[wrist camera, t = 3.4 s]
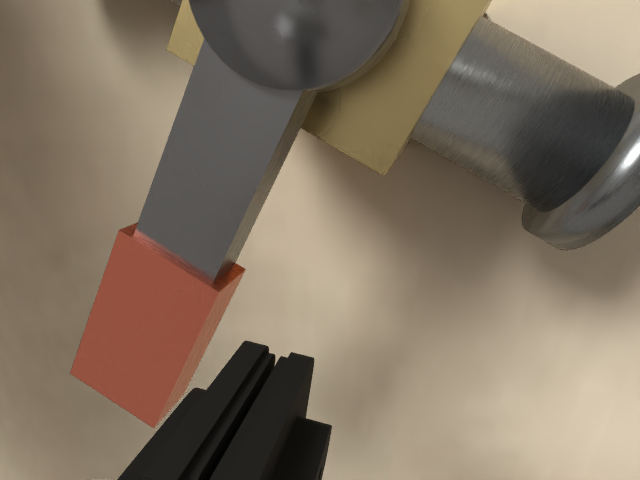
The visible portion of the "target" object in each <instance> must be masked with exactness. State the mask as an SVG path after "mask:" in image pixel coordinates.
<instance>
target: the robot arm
mask: <svg viewBox="0 0 640 480" xmlns="http://www.w3.org/2000/svg"><path fill="white" fill-rule="evenodd" d="M274 366H275V367H274ZM313 367H314V358H312V357H308V356H304V355H300V354H297V353H293V352H291V353H290V355H289V356H288V358H286V357H283V356H281V357H280V358H279V360H278V362H277V363H276V365H275V354H271V353H269V347H268V346H265V345H261V344H257V343H253V342H250V341H244V342H243V343H242V345H241V346H240V347H239V349H238V350H237V351H236V352H235V354H234V355H233V356H232V358H231V359H230V360H229V361H228V363H227V364H226V365H225V367H224V368H223V369H222V371H221V372H220V373H219V374H218V376H217V377H216V378H215V380H214V381H213V382H212V384H211V385H210V386H209V387H208V389H207V390H203V389H200V388H194V389H193V390H192V391H190V392H189V393H188V395H187V396H186V397H185V398H184V399H183V401H182V402H181V403H180V404H179V406H178V407H177V408H176V409H175V410H174V412H173V413H172V414H171V415H170V416H169V418H168V419H167V420H166V421H165V422H164V424H163V425H162V426H161V427H160V429H159V430H158V431H157V432H156V433H155V435H154V436H153V437H152V438H151V439H150V441H149V442H148V443H147V444H146V445H145V447H144V448H143V449H142V450H141V452H140V453H139V454H138V455H137V456H136V458H135V459H134V460H133V461H132V462H131V464H130V465H129V466H128V467H127V468H126V470H125V471H124V472H123V473H122V475H121V476H120V477H119V478H118V479H117V480H321V479H322V475H323V471H324V466H325V462H326V457H327V452H328V446H329V441H330V435H331V429H332V426H331V425H328V424H324V423H321V422H317V421H314V420H310V419H306V412H307V406H308V399H309V393H310V387H311V380H312V374H313ZM89 480H113V479H110V478H93V479H89Z"/></svg>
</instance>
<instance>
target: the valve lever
mask: <svg viewBox="0 0 640 480" xmlns="http://www.w3.org/2000/svg"><path fill="white" fill-rule="evenodd" d="M409 1H410V0H189V3H190V7H191V11H192V13H193V16H194V18H195V21H196V23H197V26H198V27H199V29H200V31H201V33H202V35H203V37H204V40H203V43H202V46H201V49H200V51H199V54H198V57H197V60H196V63H195V65H194V68H193V71H192V74H191V77H190V79H189V82H188V85H187V88H186V90H185V93H184V96H183V99H182V102H181V104H180V107H179V110H178V113H177V116H176V118H175V121H174V124H173V127H172V129H171V132H170V135H169V138H168V141H167V143H166V146H165V149H164V152H163V155H162V157H161V160H160V163H159V166H158V168H157V171H156V174H155V177H154V180H153V182H152V185H151V188H150V191H149V194H148V196H147V199H146V202H145V205H144V207H143V210H142V213H141V216H140V219H139V221H138V223H136V224H133V225H130V226H128V227H125V228H123V229H120V230H119V231H118V234H117V237H116V240H115V243H114V246H113V249H112V252H111V255H110V258H109V261H108V264H107V267H106V269H105V272H104V275H103V278H102V281H101V284H100V287H99V290H98V293H97V296H96V299H95V302H94V305H93V308H92V310H91V313H90V316H89V319H88V322H87V325H86V328H85V331H84V334H83V337H82V340H81V343H80V346H79V349H78V352H77V354H76V357H75V360H74V363H73V366H72V369H71V372H70V374H72V375H73V376H75V377H76V378H78V379H80V380H81V381H83V382H84V383H86V384H87V385H89V386H90V387H92V388H93V389H95V390H96V391H98V392H99V393H101V394H102V395H104V396H105V397H107V398H108V399H110V400H112V401H113V402H115V403H116V404H118V405H119V406H121V407H122V408H124V409H125V410H127V411H128V412H130V413H131V414H133V415H134V416H136V417H137V418H139V419H140V420H142V421H144V422H145V423H147V424H148V425H150V426H151V427H153V428H155V426H156V425H157V424H158V423H159V422H160V421H161V420H162V418H163V417H164V416H165V415H166V414H167V413H168V412H169V410H170V409H171V408H172V407H173V406H174V405H175V403H176V402H177V401H178V400H179V399H180V398H181V397H182V395H183V394H184V392H185V390H186V388H187V386H188V384H189V382H190V380H191V378H192V376H193V374H194V372H195V370H196V368H197V366H198V364H199V362H200V360H201V358H202V356H203V354H204V352H205V350H206V348H207V346H208V344H209V342H210V340H211V338H212V336H213V334H214V332H215V330H216V328H217V326H218V324H219V322H220V320H221V318H222V316H223V314H224V312H225V310H226V308H227V306H228V304H229V302H230V300H231V298H232V296H233V294H234V292H235V290H236V288H237V286H238V284H239V282H240V280H241V278H242V276H243V274H244V272H245V270H246V269H244V268H243V267H241V266H239V265H238V264H236V260H237V258H238V256H239V254H240V252H241V250H242V248H243V246H244V244H245V242H246V240H247V238H248V236H249V234H250V231H251V229H252V227H253V225H254V223H255V221H256V219H257V217H258V215H259V213H260V211H261V209H262V207H263V204H264V202H265V200H266V198H267V196H268V194H269V192H270V190H271V188H272V186H273V184H274V182H275V180H276V178H277V175H278V173H279V171H280V169H281V167H282V165H283V163H284V161H285V159H286V157H287V155H288V153H289V151H290V149H291V146H292V144H293V142H294V140H295V138H296V136H297V134H298V132H299V130H300V128H301V126H302V124H303V122H304V120H305V117H306V115H307V113H308V111H309V109H310V107H311V105H312V103H313V101H314V99H315V97H316V95H317V93H318V92H323V91H329V90H333V89H337V88H340V87H342V86H345V85H347V84H349V83H351V82H353V81H355V80H356V79H358V78H360V77H361V76H363V75H364V74H365V73H367V72H368V71H369V70H370V69H372V68H373V67H374V66H375V65H376V64H377V63H378V62H379V61H380V60H381V59H382V57H383V56H384V55H385V53H386V52H387V51H388V50H389V48H390V47H391V45H392V44H393V42H394V40H395V39H396V37H397V35H398V33H399V31H400V29H401V26H402V24H403V22H404V19H405V16H406V13H407V10H408V6H409Z"/></svg>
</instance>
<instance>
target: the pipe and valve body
mask: <svg viewBox="0 0 640 480" xmlns="http://www.w3.org/2000/svg"><path fill="white" fill-rule="evenodd" d="M170 1H172V2H174V3H175V4H177V5H179V6H180V10H179V13H178V16H177V19H176V22H175V25H174V28H173V31H172V34H171V37H170V40H169V43H168V46H167V49H166V50H168V51H169V52H171V53H173V54H174V55H176V56H178V57H180V58H181V59H183V60H185V61H186V62H188V63H190V64H192V65H193V66H194V65H195V63H196V60H197V57H198V54H199V51H200V49H201V46H202V43H203V40H204V37H203V35H202V33H201V31H200V29H199V27H198V26H197V23H196V21H195V18H194V16H193V13H192V11H191V7H190V3H189V0H170ZM491 1H492V0H410V1H409V6H408V10H407V13H406V16H405V19H404V22H403V24H402V26H401V29H400V31H399V33H398V35H397V37H396V39H395V40H394V42H393V44H392V45H391V47H390V48H389V50H388V51H387V52H386V53H385V55H384V56H383V57H382V59H381V60H380V61H379V62H378V63H377V64H376V65H375V66H374V67H373V68H372V69H370V70H369V71H368V72H367V73H365V74H364V75H363V76H361V77H360V78H358V79H356V80H355V81H353V82H351V83H349V84H347V85H345V86H342V87H340V88H337V89H333V90H329V91H323V92H318V93H317V95H316V97H315V99H314V101H313V103H312V105H311V107H310V109H309V111H308V113H307V115H306V117H305V120H304V122H303V124H302V126H301V128H302V129H304V130H305V131H307V132H309V133H311V134H312V135H314V136H316V137H317V138H319V139H321V140H323V141H324V142H326V143H328V144H330V145H331V146H333V147H335V148H336V149H338V150H340V151H342V152H343V153H345V154H347V155H348V156H350V157H352V158H354V159H355V160H357V161H359V162H361V163H362V164H364V165H366V166H367V167H369V168H371V169H373V170H374V171H376V172H378V173H379V174H381V175H383V176H385V175H386V173H387V172H388V170H389V169H390V168H391V166H392V165H393V164H394V162H395V161H396V159H397V158H398V157H399V155H400V154H401V153H402V151H403V150H404V148H405V147H406V145H407V143H408V141H409V140H410V138H412V139H414V140H416V141H417V142H419V143H421V144H423V145H424V146H426V147H428V148H430V149H431V150H433V151H435V152H437V153H438V154H440V155H442V156H444V157H445V158H447V159H449V160H451V161H452V162H454V163H456V164H458V165H459V166H461V167H463V168H465V169H466V170H468V171H470V172H472V173H473V174H475V175H477V176H479V177H481V178H482V179H484V180H486V181H488V182H489V183H491V184H493V185H495V186H496V187H498V188H500V189H502V190H503V191H505V192H507V193H509V194H510V195H512V196H514V197H516V198H517V199H519V200H521V201H523V202H524V203H525V206H524V210H523V215H522V224H523V227H524V229H525V230H526V231H528V232H530V233H531V234H533V235H535V236H537V237H538V238H540V239H542V240H544V241H545V242H547V243H549V244H551V245H552V246H554V247H556V248H558V249H561V250H572V249H576V248H579V247H582V246H584V245H587V244H589V243H591V242H593V241H595V240H596V239H598V238H600V237H601V236H603V235H604V234H606V233H607V232H609V231H610V230H612V229H613V228H614V227H616V226H617V225H618V224H619V223H621V222H622V221H623V220H624V219H625V218H627V217H628V216H629V215H630V214H631V213H632V212H633V211H634V210H635V209H636V208H637V207H639V206H640V74H638V75H635V76H633V77H631V78H629V79H628V80H626V81H624V82H623V83H621V84H620V85H618V86H617V87H616V88H614V87H612V86H610V85H608V84H607V83H605V82H603V81H601V80H599V79H597V78H595V77H594V76H592V75H590V74H588V73H586V72H584V71H582V70H581V69H579V68H577V67H575V66H573V65H571V64H570V63H568V62H566V61H564V60H562V59H560V58H558V57H557V56H555V55H553V54H551V53H549V52H547V51H545V50H544V49H542V48H540V47H538V46H536V45H534V44H533V43H531V42H529V41H527V40H525V39H523V38H521V37H520V36H518V35H516V34H514V33H512V32H510V31H508V30H507V29H505V28H503V27H501V26H499V25H497V24H495V23H494V22H492V21H490V20H488V19H486V18H484V17H483V15H484V14H485V12H486V10H487V8H488V6H489V4H490V3H491Z"/></svg>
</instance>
